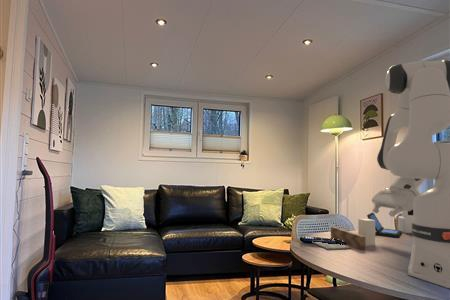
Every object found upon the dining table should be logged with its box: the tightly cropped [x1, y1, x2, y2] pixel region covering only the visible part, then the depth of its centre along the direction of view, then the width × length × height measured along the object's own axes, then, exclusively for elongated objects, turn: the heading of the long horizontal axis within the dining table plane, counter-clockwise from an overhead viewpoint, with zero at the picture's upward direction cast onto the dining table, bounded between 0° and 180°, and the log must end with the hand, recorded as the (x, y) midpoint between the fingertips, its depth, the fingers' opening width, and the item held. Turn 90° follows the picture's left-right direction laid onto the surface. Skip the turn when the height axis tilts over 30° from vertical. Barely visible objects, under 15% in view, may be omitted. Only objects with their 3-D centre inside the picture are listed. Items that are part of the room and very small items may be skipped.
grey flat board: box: [311, 239, 352, 251], centre depth 125 cm, size 12×10×1 cm
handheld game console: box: [366, 212, 403, 238], centre depth 153 cm, size 16×13×9 cm
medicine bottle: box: [397, 210, 413, 234], centre depth 158 cm, size 7×7×12 cm
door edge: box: [330, 226, 366, 251], centre depth 129 cm, size 20×2×5 cm, turn 14°
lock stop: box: [357, 218, 376, 247], centre depth 129 cm, size 4×4×10 cm
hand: (382, 213), depth 132 cm, fingers open, 8 cm apart
